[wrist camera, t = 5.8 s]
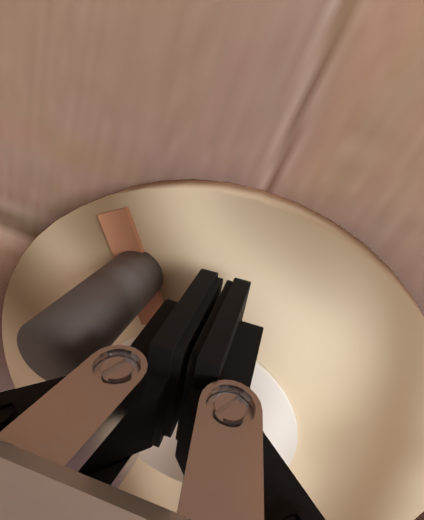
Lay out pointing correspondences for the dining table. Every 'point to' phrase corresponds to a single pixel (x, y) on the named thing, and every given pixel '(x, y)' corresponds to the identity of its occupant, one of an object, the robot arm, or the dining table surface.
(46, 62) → the dining table surface
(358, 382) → the turntable
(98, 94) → the dining table surface
